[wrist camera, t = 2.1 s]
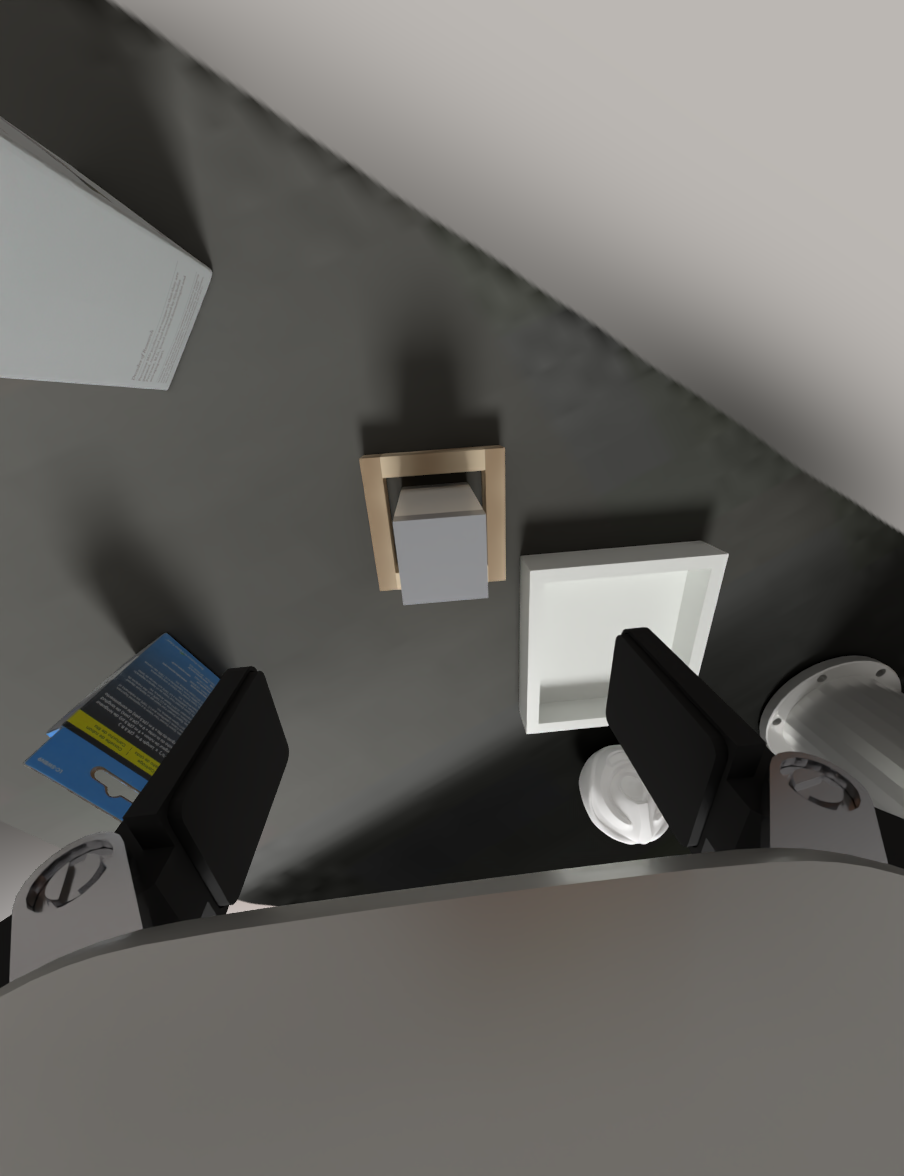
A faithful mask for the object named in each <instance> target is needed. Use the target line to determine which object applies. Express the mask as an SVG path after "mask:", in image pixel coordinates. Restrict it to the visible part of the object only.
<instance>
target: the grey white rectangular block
mask: <svg viewBox="0 0 904 1176" xmlns="http://www.w3.org/2000/svg"><path fill="white" fill-rule="evenodd" d="M393 529H394V537H395V544H396V552H397V560H398V567H399V575H400V582H401V590H402V598H403V605H411V604H422V603H434V602H445V601H457V600H468V599H480V598H488V569H487V533H486V513H485V512H484V510H483V508H482V507H481V505H480V503H479V501H478V500H477V498H476V496H475V495H474V493H473V491H472V489H471V488H470V486H469V484H468V482H459V483H446V484H433V485H420V486H407V487H402V489H401V492H400V496H399V500H398V503H397V507H396V511H395V515H394V518H393Z"/></svg>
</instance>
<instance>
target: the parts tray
mask: <svg viewBox="0 0 904 1176" xmlns="http://www.w3.org/2000/svg"><path fill="white" fill-rule="evenodd" d="M728 555H729V554H728V553H726V552H724V551H722V550H720V549H718V548H716V547H714V546H712V545H709V544H707V543H705V542H703V541H689V542H677V543H666V544H654V545H642V546H630V547H618V548H606V549H594V550H583V551H571V552H559V553H547V554H535V555H523V556H520V632H519V712H520V715H521V718H522V721H523V725H524V728H525V731H526V734H532V733H542V732H553V731H563V730H573V729H583V728H593V727H603V726H609V725H608V722H607V719H606V704H607V697H608V689H609V682H610V675H611V668H612V661H613V653H614V646H615V640H616V637H617V636H618V635H621V633H622V631H623V630H624V629H630V628H640V627H647V628H649V629H650V630H651V631H652V632H653V633H654V634H655V635H656V636H657V637H658V638H659V639H660V640H661V641H662V642H663V643H665V644H666V645H667V646H668V647H669V648H670V649H671V650H672V651H673V652H674V653H675V654H676V655H677V656H678V657H679V658H680V659H681V660H682V661H683V662H684V663H685V664H686V665H687V666H688V667H689V668H690V669H691V670H692V671H693V672H694V673H695V674H696V675H697V676H698V675H699V671H700V667H701V663H702V659H703V655H704V651H705V647H706V643H707V639H708V635H709V631H710V627H711V623H712V619H713V615H714V611H715V607H716V603H717V599H718V595H719V591H720V587H721V583H722V579H723V575H724V571H725V567H726V563H727V559H728Z"/></svg>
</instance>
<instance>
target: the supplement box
mask: <svg viewBox="0 0 904 1176" xmlns="http://www.w3.org/2000/svg"><path fill="white" fill-rule="evenodd" d="M211 277H212V271H211V269H210V268H209V267H207V266H206V265H205V264H203V263H202V262H200V261H199V260H198V259H196V258H195V257H193V256H192V255H191V254H189V253H188V252H187V251H185V250H184V249H182V248H181V247H180V246H178V245H177V244H176V243H174V242H173V241H172V240H170V239H169V238H168V237H166V236H165V235H164V234H162V233H161V232H160V231H158V230H157V229H156V228H154V227H153V226H151V225H150V224H149V223H147V222H146V221H145V220H143V219H142V218H141V217H139V216H138V215H137V214H135V213H134V212H133V211H131V210H130V209H129V208H127V207H126V206H125V205H123V204H122V203H121V202H119V201H118V200H117V199H115V198H114V197H113V196H111V195H110V194H109V193H107V192H106V191H104V190H103V189H102V188H100V187H99V186H98V185H96V184H95V183H94V182H92V181H91V180H89V179H88V178H87V177H85V176H84V175H83V174H81V173H80V172H78V171H77V170H76V169H75V168H73V167H72V166H71V165H69V164H68V163H67V162H65V161H64V160H62V159H61V158H59V157H58V156H56V155H55V154H54V153H52V152H51V151H49V150H48V149H46V148H45V147H43V146H42V145H41V144H39V143H38V142H36V141H35V140H33V139H32V138H31V137H29V136H28V135H26V134H25V133H23V132H22V131H21V130H19V129H18V128H16V127H15V126H13V125H12V124H11V123H9V122H8V121H6V120H5V119H3V118H2V117H0V377H1V378H14V379H27V380H40V381H54V382H67V383H80V384H92V385H107V386H121V387H134V388H145V389H160V390H168V388H169V386H170V384H171V381H172V378H173V376H174V374H175V371H176V368H177V366H178V363H179V361H180V358H181V355H182V353H183V351H184V348H185V346H186V343H187V340H188V338H189V335H190V333H191V330H192V328H193V325H194V323H195V320H196V317H197V315H198V312H199V310H200V307H201V304H202V302H203V299H204V296H205V294H206V292H207V289H208V286H209V283H210V280H211Z"/></svg>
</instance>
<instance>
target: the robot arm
mask: <svg viewBox="0 0 904 1176" xmlns="http://www.w3.org/2000/svg"><path fill="white" fill-rule="evenodd" d="M606 719H607V722H608V725H609V727H610V728H611V730H612V732H613V733H614V735H615V737H616V738H617V740H618V742H619V743H620V745H621V747H622V748H623V750H624V752H625V753H626V755H627V757H628V758H629V760H630V762H631V763H632V765H633V767H634V768H635V770H636V772H637V774H638V775H639V777H640V779H641V780H642V782H643V784H644V785H645V787H646V789H647V790H648V792H649V794H650V795H651V797H652V799H653V800H654V802H655V804H656V805H657V807H658V809H659V810H660V812H661V814H662V815H663V817H664V819H665V821H666V822H667V824H668V826H669V827H670V829H671V831H672V832H673V834H674V836H675V837H676V839H677V840H678V842H679V843H680V844H681V845H682V846H684V847H688V848H689V849H690V851H691V853H692V854H688V855H678V856H668V857H659V858H651V859H643V860H635V861H627V862H618V863H610V864H602V865H594V866H586V867H578V868H569V869H561V870H553V871H545V872H537V873H529V874H521V875H514V876H506V877H498V878H490V879H482V880H474V881H467V882H459V883H451V884H443V885H436V886H428V887H420V888H412V889H405V890H397V891H389V892H382V893H375V894H367V895H360V896H352V897H345V898H337V899H330V900H322V901H315V902H308V903H300V904H293V905H285V906H278V907H270V908H263V909H257V910H250V911H244V912H238V913H231V914H226V912H227V910H228V907H229V905H233V904H234V903H235V902H236V901H237V899H238V897H239V895H240V892H241V890H242V887H243V884H244V881H245V879H246V876H247V873H248V870H249V867H250V865H251V862H252V859H253V856H254V853H255V851H256V848H257V845H258V842H259V839H260V837H261V834H262V831H263V828H264V826H265V823H266V820H267V817H268V814H269V812H270V809H271V806H272V803H273V800H274V798H275V795H276V792H277V789H278V786H279V784H280V781H281V778H282V775H283V773H284V770H285V767H286V764H287V761H288V757H289V748H288V744H287V741H286V738H285V735H284V732H283V729H282V726H281V723H280V720H279V717H278V714H277V711H276V708H275V705H274V702H273V699H272V696H271V693H270V690H269V687H268V684H267V681H266V678H265V676H264V673H263V672H261V671H257V670H256V668H255V667H252V666H250V667H240V668H231V669H228V670H227V671H226V672H225V673H224V675H223V676H222V678H221V679H220V680H219V682H218V683H217V685H216V686H215V687H214V689H213V690H212V692H211V693H210V695H209V696H208V697H207V699H206V700H205V702H204V703H203V704H202V706H201V707H200V709H199V710H198V712H197V713H196V714H195V716H194V717H193V719H192V720H191V721H190V723H189V724H188V726H187V727H186V728H185V730H184V731H183V733H182V734H181V736H180V737H179V738H178V740H177V741H176V743H175V744H174V745H173V747H172V748H171V750H170V751H169V753H168V754H167V755H166V757H165V758H164V760H163V761H162V762H161V764H160V765H159V767H158V768H157V769H156V771H155V772H154V774H153V775H152V777H151V778H150V779H149V781H148V782H147V784H146V785H145V786H144V788H143V789H142V791H141V792H140V794H139V795H138V796H137V798H136V799H135V801H134V802H133V803H132V805H131V806H130V808H129V809H128V811H127V812H126V813H125V815H124V816H123V821H122V822H121V824H120V825H119V827H118V828H117V830H116V831H115V832H98V833H94V834H91V835H87V836H84V837H82V838H80V839H78V840H76V841H74V842H72V843H70V844H68V845H67V846H65V847H64V848H62V849H61V850H59V851H58V852H56V853H55V854H53V855H52V856H51V857H50V858H48V859H47V860H46V861H45V862H44V863H43V864H41V865H40V866H39V867H38V868H37V869H36V870H35V871H34V872H33V873H32V875H31V876H30V877H29V878H28V879H27V880H26V881H25V883H24V884H23V886H22V887H21V889H20V891H19V892H18V894H17V896H16V898H15V902H14V905H13V910H12V915H10V916H9V917H7V918H6V919H4V920H3V921H1V922H0V1176H904V693H902V692H901V684H900V679H899V677H898V676H897V674H896V672H895V671H894V670H892V669H891V668H890V667H889V666H887V665H885V664H883V663H882V662H880V661H878V660H876V659H873V658H870V657H866V656H856V655H853V656H843V657H838V658H833V659H829V660H826V661H823V662H821V663H818V664H815V665H813V666H811V667H809V668H807V669H806V670H804V671H802V672H800V673H799V674H797V675H796V676H794V677H793V678H791V679H790V680H789V681H788V682H786V683H785V684H784V685H783V686H782V687H781V688H780V689H779V690H778V691H777V692H776V693H775V694H774V695H773V697H772V698H771V699H770V701H769V702H768V704H767V705H766V707H765V709H764V711H763V714H762V716H761V720H760V726H759V730H760V736H761V737H760V736H759V735H758V734H757V733H756V732H755V731H754V730H753V729H752V728H751V727H750V726H749V725H748V724H747V723H746V722H745V721H744V720H743V719H742V718H741V717H740V716H739V715H738V714H736V713H735V712H734V711H733V710H732V709H731V708H730V707H729V706H728V705H727V704H726V703H725V702H724V701H723V700H722V699H721V698H720V697H719V696H718V695H717V694H716V693H715V692H714V691H713V690H712V689H711V688H710V687H709V686H708V685H707V684H706V683H705V682H704V681H703V680H702V679H700V678H699V677H698V676H697V675H696V674H695V673H694V672H693V671H692V670H691V669H690V668H689V667H688V666H687V665H686V664H685V663H684V662H683V661H682V660H681V659H680V658H679V657H678V656H677V655H676V654H675V653H674V652H673V651H672V650H671V649H670V648H669V647H668V646H667V645H666V644H665V643H663V642H662V641H661V640H660V639H659V638H658V637H657V636H656V635H655V634H654V633H653V632H652V631H651V630H650V629H649V628H647V627H640V628H630V629H624V630H623V631H622V633H621V635H618V636H617V637H616V640H615V646H614V653H613V661H612V668H611V675H610V682H609V689H608V697H607V704H606ZM766 746H767V747H766ZM772 752H773V753H774V754H775V755H774V754H773V753H772Z"/></svg>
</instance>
